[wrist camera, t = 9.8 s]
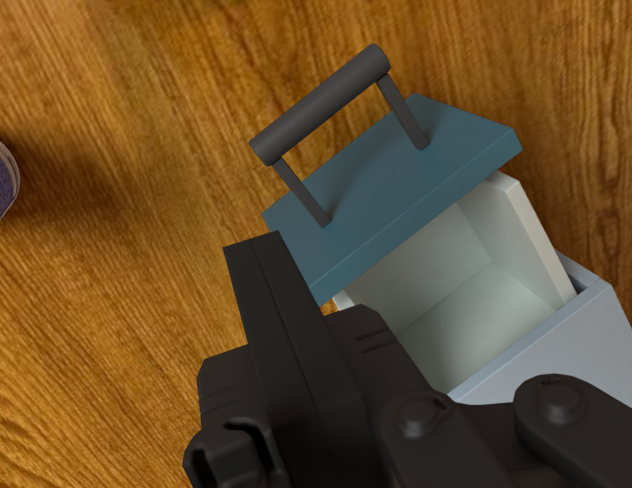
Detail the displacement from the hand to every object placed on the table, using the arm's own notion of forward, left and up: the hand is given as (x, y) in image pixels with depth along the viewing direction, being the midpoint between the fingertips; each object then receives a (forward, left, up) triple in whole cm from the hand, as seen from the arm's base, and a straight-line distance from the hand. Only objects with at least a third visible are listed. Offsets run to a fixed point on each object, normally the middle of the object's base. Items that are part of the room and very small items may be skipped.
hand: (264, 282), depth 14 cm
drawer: (-5, +9, -17) cm, 20 cm away
